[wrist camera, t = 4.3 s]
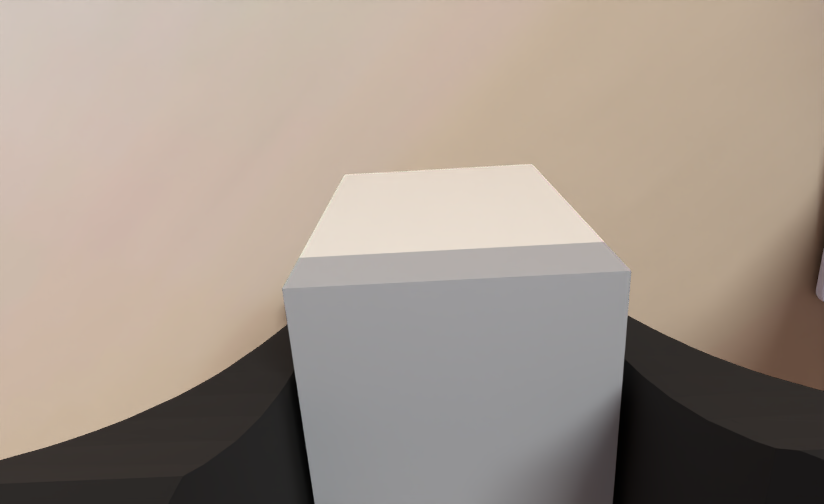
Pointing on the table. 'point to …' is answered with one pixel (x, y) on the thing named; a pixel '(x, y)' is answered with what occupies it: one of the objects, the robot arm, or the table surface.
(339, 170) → the table surface
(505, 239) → the plug
